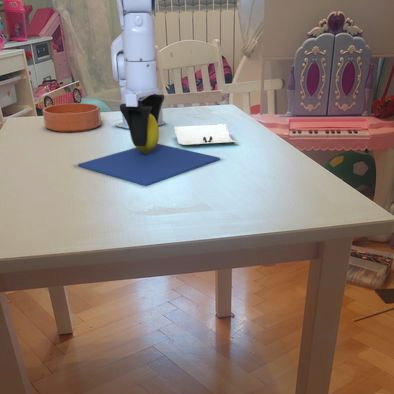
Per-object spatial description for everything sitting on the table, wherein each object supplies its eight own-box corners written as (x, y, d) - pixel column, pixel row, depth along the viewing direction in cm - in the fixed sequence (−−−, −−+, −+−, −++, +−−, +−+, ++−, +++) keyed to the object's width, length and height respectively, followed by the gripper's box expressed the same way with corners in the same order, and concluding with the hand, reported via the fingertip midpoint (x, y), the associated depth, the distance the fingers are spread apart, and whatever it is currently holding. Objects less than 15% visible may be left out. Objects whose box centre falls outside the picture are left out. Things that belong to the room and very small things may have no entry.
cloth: (153, 144, 104) (153, 142, 104) (219, 159, 95) (219, 157, 95) (78, 166, 92) (78, 164, 92) (145, 186, 83) (145, 183, 82)
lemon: (161, 150, 99) (159, 106, 94) (157, 158, 95) (155, 112, 90) (134, 149, 100) (131, 106, 95) (129, 157, 95) (125, 112, 90)
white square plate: (183, 150, 100) (182, 140, 99) (174, 136, 110) (174, 126, 109) (240, 147, 102) (240, 137, 101) (226, 133, 112) (226, 124, 111)
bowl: (78, 118, 126) (76, 101, 124) (112, 125, 119) (110, 107, 117) (34, 127, 118) (31, 109, 116) (68, 136, 111) (65, 116, 109)
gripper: (130, 55, 94) (136, 131, 102) (105, 64, 83) (114, 149, 91) (166, 55, 93) (169, 132, 101) (145, 65, 81) (151, 151, 90)
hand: (145, 140), depth 96 cm, fingers open, 7 cm apart
